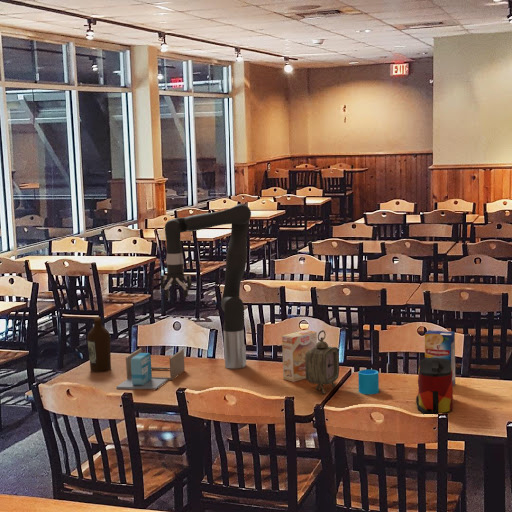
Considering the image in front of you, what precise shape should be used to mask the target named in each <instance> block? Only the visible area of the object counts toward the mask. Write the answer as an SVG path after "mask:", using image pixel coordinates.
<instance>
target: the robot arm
mask: <svg viewBox="0 0 512 512" xmlns="http://www.w3.org/2000/svg"><path fill="white" fill-rule="evenodd" d="M251 216H252V211H251V209H250V207H249V206H248V205H246V204H244V203H238V204H235V205H234V206H233V207H230V208H227V209H224V210H220V211H214V212H206V213H199V214H194V215H189V216H185V217H184V216H183V217H176V218H172V219H169V220H167V221H166V222H165V225H164V234H165V241H166V244H165V245H166V247H165V248H166V261H165V262H166V272H167V275H165V274H163V275H161V276H160V289H163V290H164V292H165V293H164V295H165V297H166V299H169V298H170V294H171V293H170V287H171V286H179V285H180V287H182V289H183V298H184V299H187V298H188V296H189V289H191V288H193V284H192V276H191V275H190V274H189V275H188V274H187V275H185V273H184V269H185V268H184V256H183V247H182V246H183V245H182V241H181V233H185V232H195V231H200V230H207V229H210V228H213V227H217V226H223V225H224V226H225V225H231V229H230V230H231V233H230V238H229V242H228V246H227V251H226V260H225V274H224V287H223V292H222V297H221V302H220V307H221V310H222V311H223V312H224V313H223V314H224V323H223V327H222V328H223V347H224V349H223V350H224V366H225V368H227V369H234V370H235V369H244V368H245V367H246V366H247V350H246V348H247V347H246V344H245V332H244V330H245V329H244V325H245V304H244V302H243V300H242V299H241V298H240V289H241V284H242V283H241V282H242V279H243V278H244V274H245V272H246V271H245V270H246V268H247V267H246V266H247V260H248V259H247V258H248V230H249V224H250V220H251ZM166 280H167V281H168V282H167V284H166ZM184 280H186V282H185V281H184Z"/></svg>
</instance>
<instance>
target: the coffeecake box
mask: <svg viewBox="0 0 512 512" xmlns="http://www.w3.org/2000/svg"><path fill="white" fill-rule="evenodd" d="M317 333H318V332H317V331H313V330H308V329H305V330H302V331H301V330H299V331H297V332H292V333H288V334H287V333H286V334H283V335H281V343H282V344H281V345H282V346H281V347H282V376H283V377H282V378H283V380H285V381H286V380H287V381H289V382H297V381H301V380H305V379H306V371H305V356H306V353H307V352H308V351H309V350H311V349H313V348H315V347H316V345H317V343H318V334H317Z"/></svg>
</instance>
